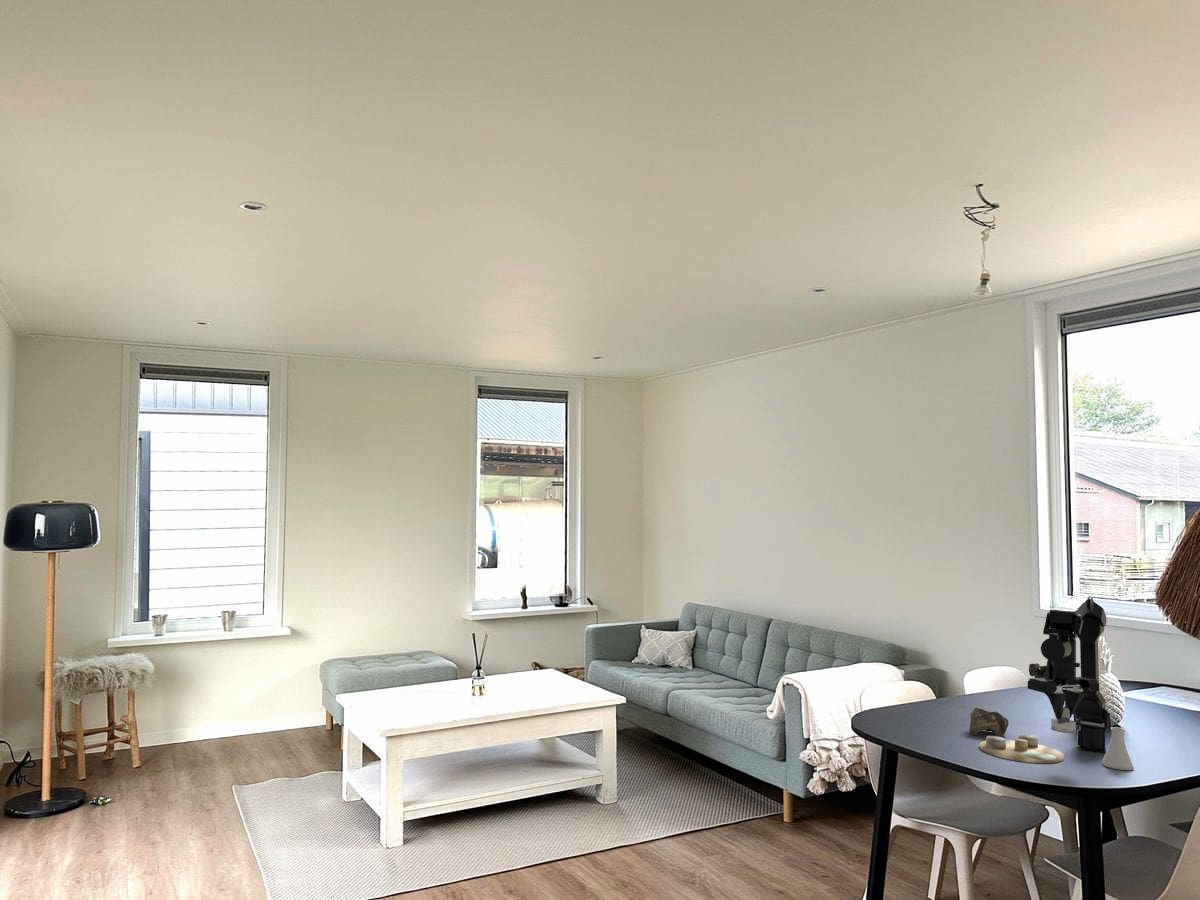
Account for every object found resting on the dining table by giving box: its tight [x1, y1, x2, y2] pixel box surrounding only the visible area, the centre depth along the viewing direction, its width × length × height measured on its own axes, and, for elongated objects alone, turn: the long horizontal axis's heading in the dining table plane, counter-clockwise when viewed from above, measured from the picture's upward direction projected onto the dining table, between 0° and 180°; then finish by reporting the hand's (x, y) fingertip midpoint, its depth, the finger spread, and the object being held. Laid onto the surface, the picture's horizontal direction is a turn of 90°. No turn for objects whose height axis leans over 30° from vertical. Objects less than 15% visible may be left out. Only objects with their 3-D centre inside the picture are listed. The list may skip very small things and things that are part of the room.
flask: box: [1101, 726, 1135, 771], centre depth 237 cm, size 7×7×10 cm
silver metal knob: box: [1050, 705, 1077, 734], centre depth 233 cm, size 6×6×6 cm
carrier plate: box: [979, 733, 1065, 764], centre depth 247 cm, size 21×21×3 cm
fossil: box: [968, 707, 1009, 738], centre depth 267 cm, size 11×9×10 cm
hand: (1063, 718), depth 233 cm, fingers closed on silver metal knob, 3 cm apart
